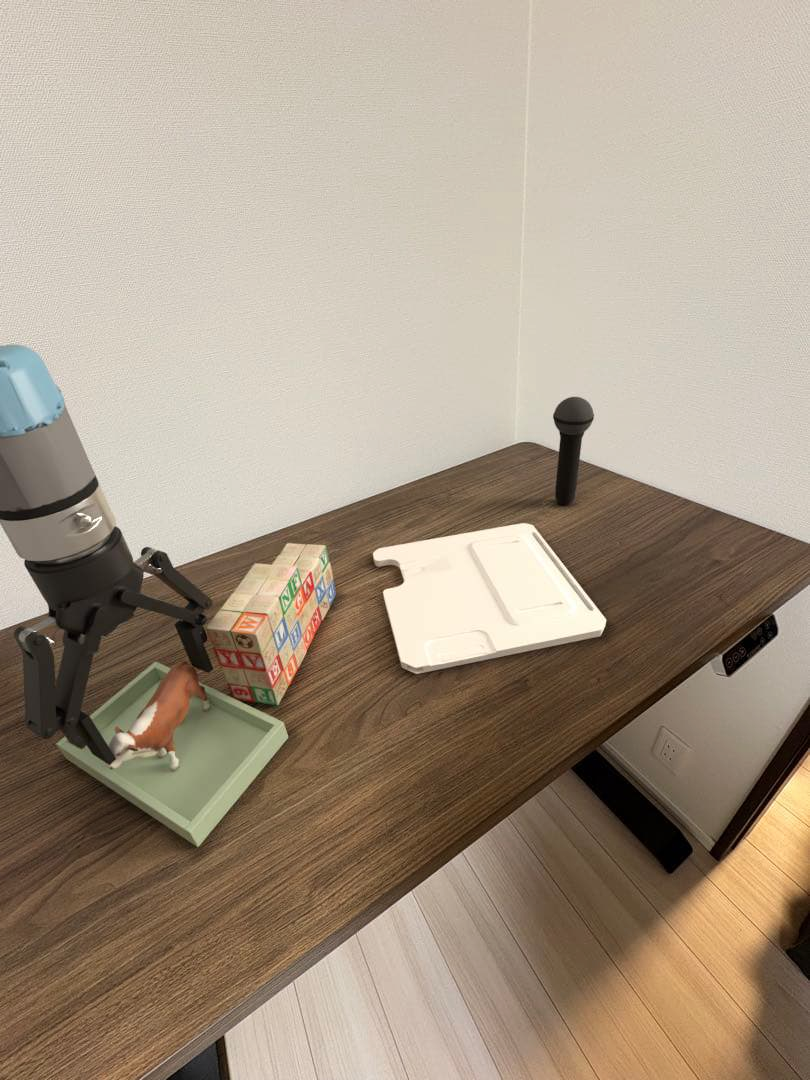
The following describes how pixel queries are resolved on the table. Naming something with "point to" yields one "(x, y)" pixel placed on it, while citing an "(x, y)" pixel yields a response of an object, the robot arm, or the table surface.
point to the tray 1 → (185, 756)
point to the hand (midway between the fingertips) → (157, 708)
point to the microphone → (570, 444)
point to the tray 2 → (483, 598)
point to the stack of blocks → (272, 622)
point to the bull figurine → (160, 718)
